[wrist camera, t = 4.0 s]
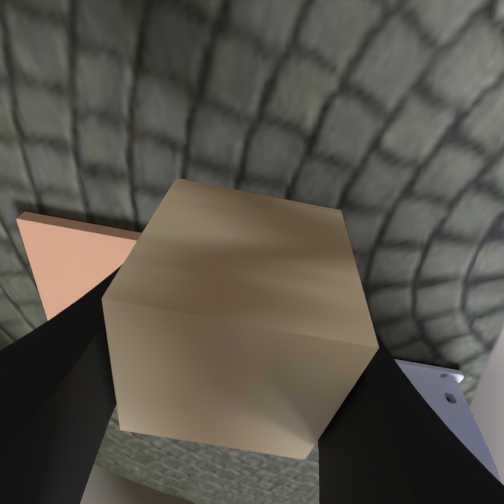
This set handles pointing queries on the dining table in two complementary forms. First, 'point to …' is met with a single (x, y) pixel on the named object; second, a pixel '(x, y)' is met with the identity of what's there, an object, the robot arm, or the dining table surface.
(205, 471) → the dining table surface
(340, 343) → the maple cube
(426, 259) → the dining table surface
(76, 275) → the coaster
